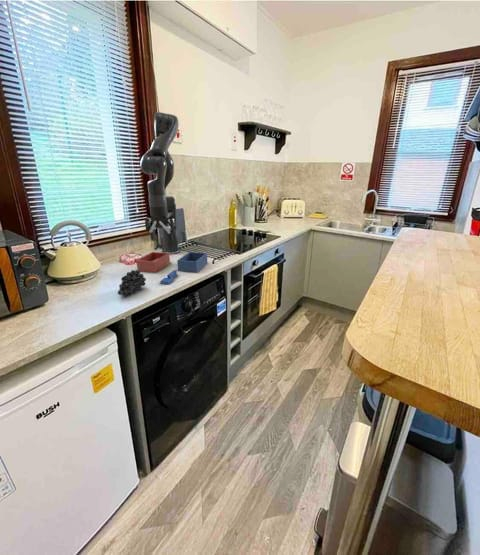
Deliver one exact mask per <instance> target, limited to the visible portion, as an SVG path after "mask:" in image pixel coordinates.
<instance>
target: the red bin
mask: <svg viewBox="0 0 480 555" xmlns="http://www.w3.org/2000/svg"><path fill="white" fill-rule="evenodd" d="M157 258H158V259H157ZM155 259H157V260H156V261H154V260H155ZM135 262H136V270H140V272H147V273H157V272H158V271H160V270H162V269H163V268H165V267H166V266H168V265H169V264H170V263H171V258H170V254H169V253H162V252H160V251H159V252H158V251H152V252H149V253H148V254H145V255H144V256H141V257H140V258H138V259H136V260H135Z"/></svg>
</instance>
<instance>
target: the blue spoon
mask: <svg viewBox="0 0 480 555" xmlns="http://www.w3.org/2000/svg"><path fill="white" fill-rule="evenodd" d="M177 271H178V269H174V270H172V271H171V272H169V273H168V274H167V275H166V277H164V278H162V279H161V280H160V281H159V282H160V283H159V284H161V285H163V284H164V285H170V284H171V283H172V282H173V281H174V278H176V277H177V276H178V273H177Z"/></svg>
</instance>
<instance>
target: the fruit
mask: <svg viewBox="0 0 480 555" xmlns="http://www.w3.org/2000/svg"><path fill="white" fill-rule="evenodd" d="M146 281H147V279H146V277H145V275H144V273H141V271H140V270H138V269H136V270H134V269H132V270H131V271H128V272H126V275H124V276H122V277H121V283H119V286H118V288H119V290H118V291H117V294H118V295H119V296H122V297H125V298H126V297H127V296H128V294H131V295H133V294H134V293H135V292H137V291H138V290H139V291H140V290H142V289H143V287H144V286H146Z"/></svg>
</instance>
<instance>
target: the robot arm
mask: <svg viewBox="0 0 480 555" xmlns="http://www.w3.org/2000/svg"><path fill="white" fill-rule="evenodd" d="M153 123H154V139H153V141H152V143H151V146H150V149H148V150H147V151H146V152H145V153H144V154H143V155H142V157H141V159H140V165H139V166H140V168H141V169H140V170H141V171H142V172H143V173H144V174H145V175H155V179H151V180H149V181H147V191H148V205H149V213H150V214H149V215H150V217H145V218H144V224H145V232H148V233H149V234H150V239H151V241H153V242H155V241H156V240H157V237H156V232H155V231H156V229H160V230H161V237H160V244H158V245H156V247H154V250H158V248H160V249H161V253H169V255H174V254H178V253H180V244H179V236H178V234H179V233H178V225H177V224H178V223H177V222H178V221H177V219H178V218H177V203H176V198H175V197H174V196H172V195H171V196H169V195H168V196H166V189H167V187H168V186H169V184H170V183H171V181H172V180H173V178H174V175H175V163H174V159H173V158H172V155H171V154H170V151H169V148H170V147H171V144H172V143H173V141H174V140H175V138H176V137H177V135H178V133H179V126H180V125H179V118H178V116H176V115H174V114H170V113H166V112H160V111H156V112H155V114H154V122H153ZM151 223H152V224H151Z"/></svg>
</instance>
